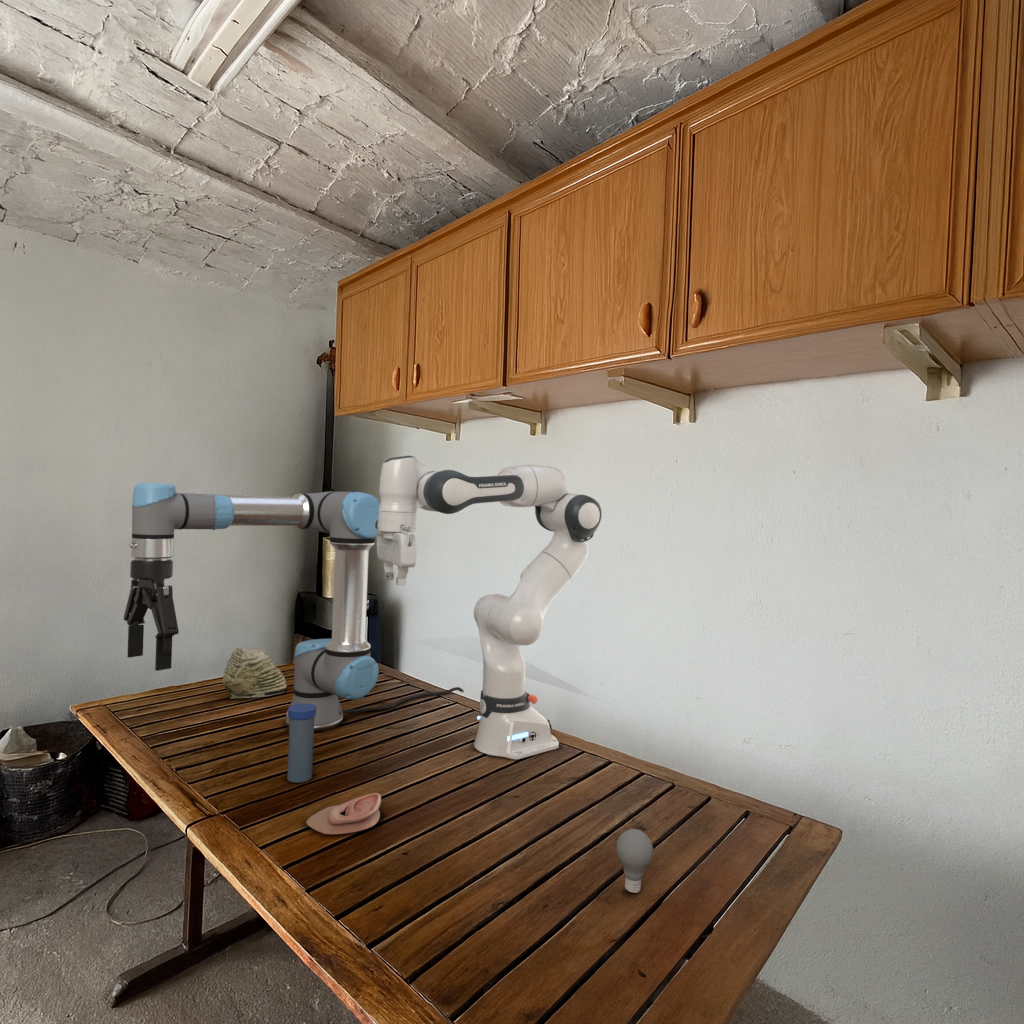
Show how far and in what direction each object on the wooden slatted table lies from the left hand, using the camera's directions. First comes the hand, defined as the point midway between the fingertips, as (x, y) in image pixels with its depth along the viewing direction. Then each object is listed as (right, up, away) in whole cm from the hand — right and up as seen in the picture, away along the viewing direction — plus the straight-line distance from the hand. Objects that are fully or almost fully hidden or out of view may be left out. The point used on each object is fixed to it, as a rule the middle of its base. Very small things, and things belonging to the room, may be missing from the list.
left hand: (148, 662), depth 129 cm
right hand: (+46, +14, +20) cm, 53 cm away
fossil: (-6, -27, +69) cm, 74 cm away
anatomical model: (+41, -30, -5) cm, 51 cm away
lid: (+27, -14, +13) cm, 33 cm away
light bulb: (+94, -33, -24) cm, 103 cm away
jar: (+26, -29, +13) cm, 41 cm away
